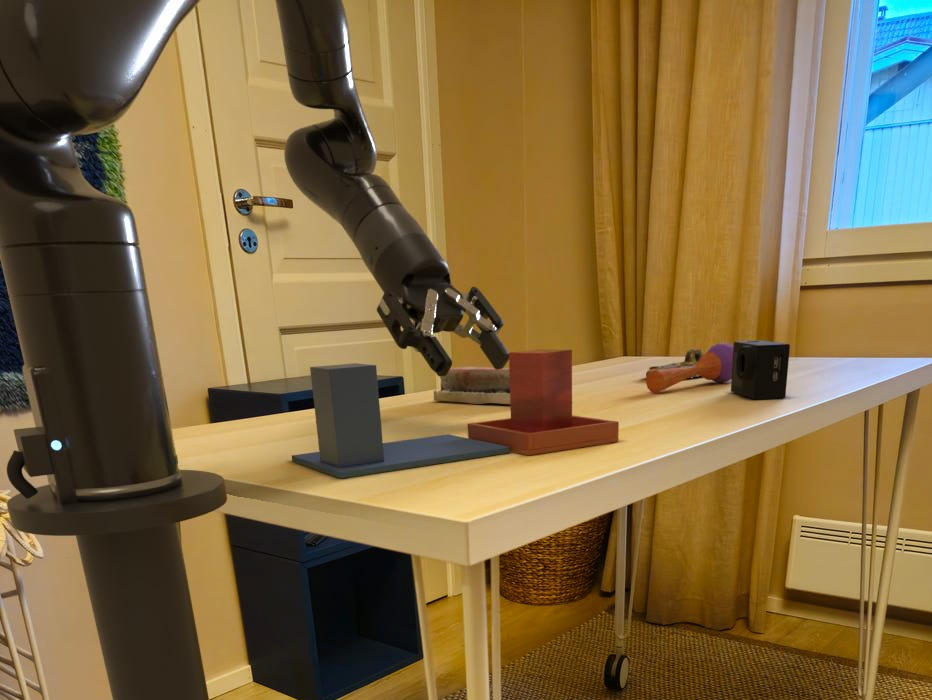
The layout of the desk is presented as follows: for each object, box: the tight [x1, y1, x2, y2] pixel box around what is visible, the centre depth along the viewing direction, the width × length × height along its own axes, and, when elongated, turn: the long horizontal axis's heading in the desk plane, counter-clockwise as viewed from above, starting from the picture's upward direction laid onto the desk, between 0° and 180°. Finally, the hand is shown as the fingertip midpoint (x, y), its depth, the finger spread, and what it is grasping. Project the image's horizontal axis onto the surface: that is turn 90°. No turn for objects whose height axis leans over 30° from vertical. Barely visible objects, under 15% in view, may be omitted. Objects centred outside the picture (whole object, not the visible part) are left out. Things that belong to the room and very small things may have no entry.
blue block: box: [309, 362, 384, 468], centre depth 78 cm, size 4×4×8 cm
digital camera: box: [730, 340, 791, 400], centre depth 117 cm, size 10×5×7 cm, turn 2°
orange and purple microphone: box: [645, 342, 734, 394], centre depth 132 cm, size 6×6×20 cm
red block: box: [508, 348, 573, 433], centre depth 87 cm, size 4×4×8 cm
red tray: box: [467, 414, 620, 456], centre depth 88 cm, size 11×11×2 cm
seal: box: [645, 348, 704, 378], centre depth 148 cm, size 9×5×15 cm
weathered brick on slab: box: [433, 366, 510, 405], centre depth 125 cm, size 18×5×10 cm
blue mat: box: [291, 433, 511, 479], centre depth 84 cm, size 18×12×1 cm, turn 122°
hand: (476, 367), depth 93 cm, fingers open, 8 cm apart
